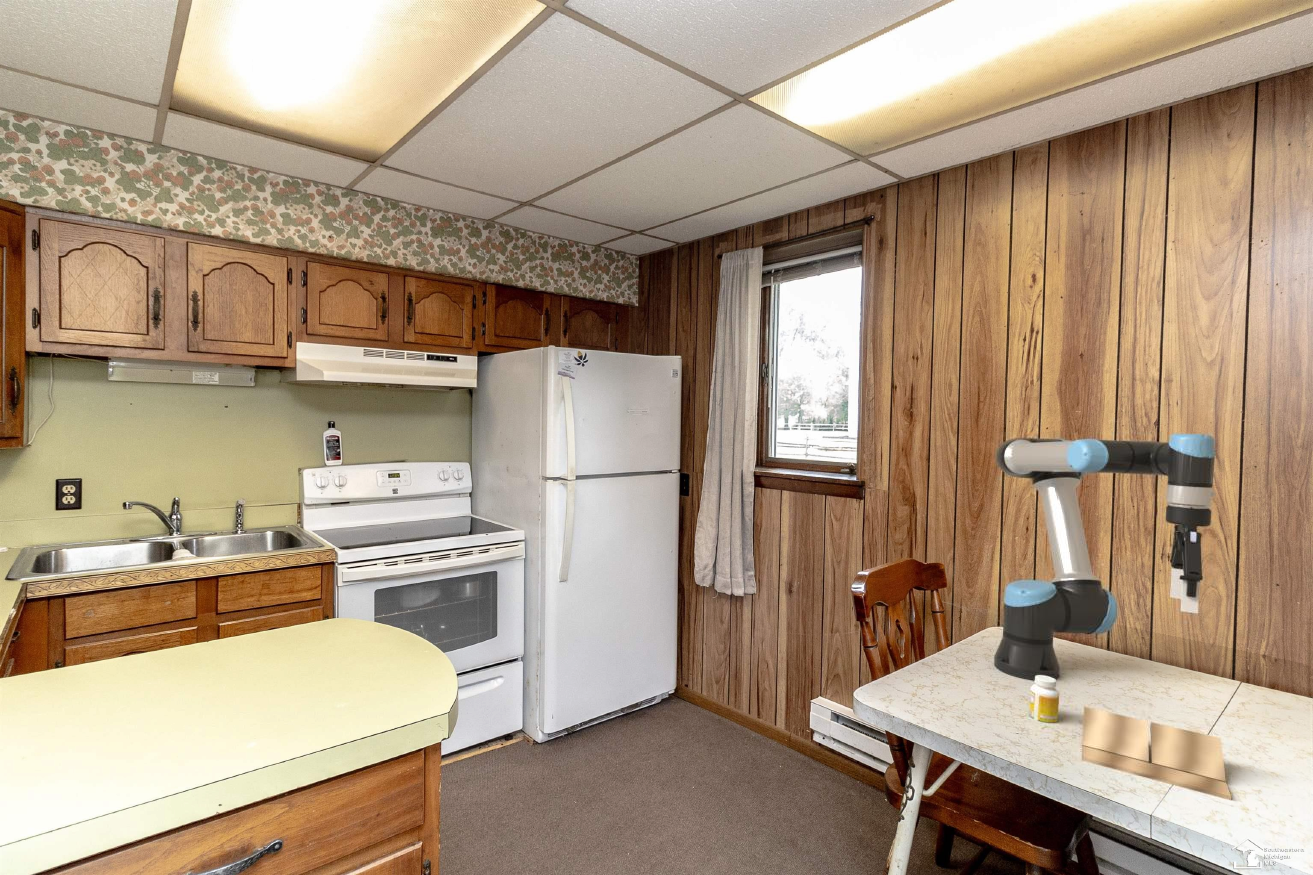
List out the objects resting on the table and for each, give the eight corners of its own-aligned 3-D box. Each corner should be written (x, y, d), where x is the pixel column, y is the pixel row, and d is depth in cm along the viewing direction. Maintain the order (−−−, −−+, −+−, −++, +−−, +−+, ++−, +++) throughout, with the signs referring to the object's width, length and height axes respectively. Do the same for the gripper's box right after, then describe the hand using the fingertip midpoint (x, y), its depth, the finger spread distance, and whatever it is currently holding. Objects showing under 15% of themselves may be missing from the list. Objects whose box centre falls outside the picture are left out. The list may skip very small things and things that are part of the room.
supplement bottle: (1023, 718, 144) (1025, 675, 144) (1039, 714, 146) (1041, 672, 146) (1047, 729, 139) (1049, 684, 139) (1063, 725, 141) (1065, 681, 141)
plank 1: (1082, 749, 130) (1082, 744, 129) (1084, 711, 136) (1084, 706, 135) (1148, 766, 124) (1148, 761, 123) (1147, 725, 130) (1147, 721, 129)
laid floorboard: (1081, 763, 124) (1081, 756, 124) (1081, 752, 129) (1082, 745, 129) (1230, 804, 112) (1231, 796, 112) (1225, 790, 117) (1225, 782, 117)
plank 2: (1151, 767, 124) (1152, 762, 123) (1150, 726, 130) (1150, 721, 129) (1224, 786, 118) (1225, 781, 117) (1219, 742, 124) (1220, 737, 123)
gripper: (1225, 513, 127) (1219, 622, 128) (1199, 502, 149) (1194, 595, 149) (1176, 509, 131) (1170, 615, 131) (1158, 499, 152) (1153, 590, 153)
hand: (1183, 605), depth 140 cm, fingers open, 13 cm apart
